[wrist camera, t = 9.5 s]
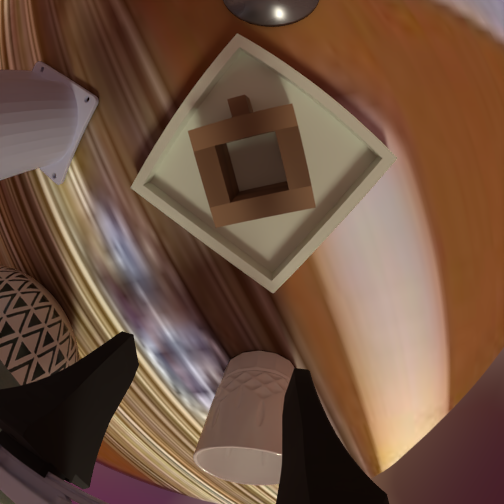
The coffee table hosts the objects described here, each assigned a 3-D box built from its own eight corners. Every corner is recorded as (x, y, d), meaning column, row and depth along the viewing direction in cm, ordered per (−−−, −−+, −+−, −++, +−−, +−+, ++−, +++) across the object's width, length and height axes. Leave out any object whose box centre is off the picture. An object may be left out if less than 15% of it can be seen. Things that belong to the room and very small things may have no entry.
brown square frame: (226, 212, 19) (215, 227, 16) (198, 113, 16) (182, 110, 14) (311, 195, 18) (315, 207, 15) (286, 90, 15) (286, 81, 12)
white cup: (314, 352, 23) (318, 455, 14) (292, 404, 26) (287, 489, 17) (223, 336, 24) (192, 435, 15) (216, 391, 27) (193, 474, 18)
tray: (140, 183, 19) (130, 187, 18) (241, 40, 14) (237, 33, 13) (274, 282, 21) (273, 293, 20) (389, 155, 16) (397, 158, 15)
